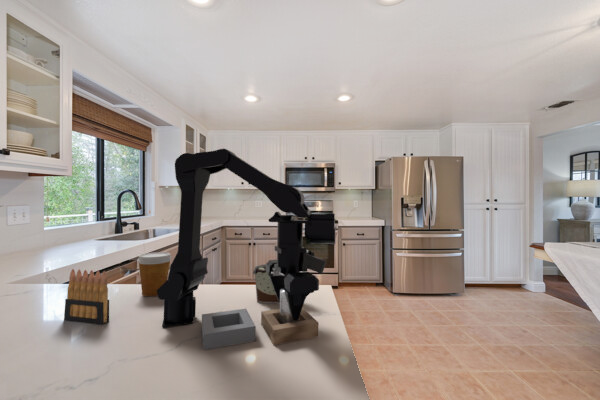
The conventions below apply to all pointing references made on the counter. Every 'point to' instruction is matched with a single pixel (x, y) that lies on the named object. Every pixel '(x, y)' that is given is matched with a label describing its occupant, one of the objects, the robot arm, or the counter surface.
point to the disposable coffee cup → (153, 271)
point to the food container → (264, 286)
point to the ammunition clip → (87, 298)
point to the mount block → (288, 327)
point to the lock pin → (285, 309)
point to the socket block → (227, 328)
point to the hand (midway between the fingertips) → (288, 312)
